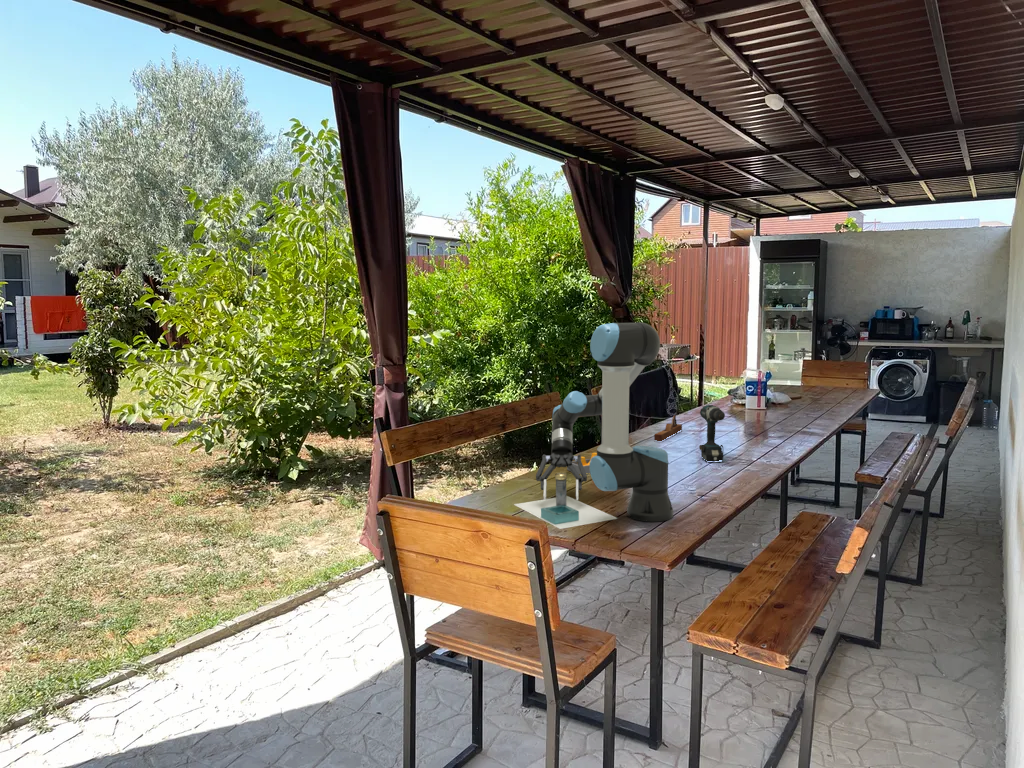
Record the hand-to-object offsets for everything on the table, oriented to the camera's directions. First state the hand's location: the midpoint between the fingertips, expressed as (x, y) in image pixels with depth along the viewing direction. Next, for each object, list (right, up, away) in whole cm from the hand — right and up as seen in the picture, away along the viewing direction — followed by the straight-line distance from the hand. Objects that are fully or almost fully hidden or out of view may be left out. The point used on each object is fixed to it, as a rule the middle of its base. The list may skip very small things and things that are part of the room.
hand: (560, 497), depth 249 cm
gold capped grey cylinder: (0, -4, +3) cm, 5 cm away
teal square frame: (-1, -5, -10) cm, 12 cm away
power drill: (+73, +4, +72) cm, 103 cm away
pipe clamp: (+17, +2, +61) cm, 64 cm away
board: (+1, -5, -2) cm, 6 cm away
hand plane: (+66, +11, +134) cm, 150 cm away
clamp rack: (+18, +2, +61) cm, 64 cm away
